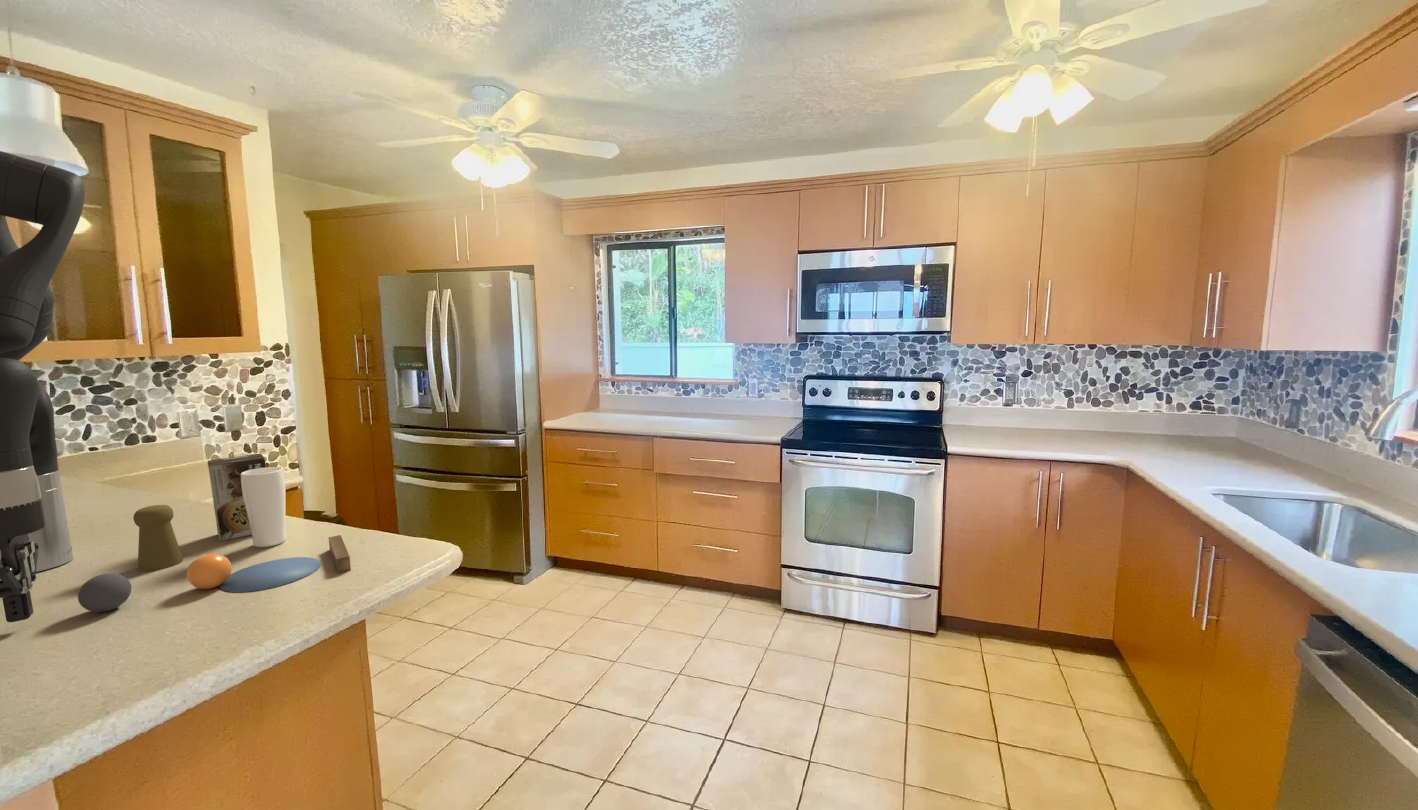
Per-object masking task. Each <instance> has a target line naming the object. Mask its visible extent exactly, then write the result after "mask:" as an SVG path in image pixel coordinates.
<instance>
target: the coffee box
mask: <svg viewBox="0 0 1418 810" xmlns="http://www.w3.org/2000/svg"><path fill="white" fill-rule="evenodd" d="M207 466H208V472H209V480H210V486H211V487H210V488H211V489H210V490H211V493H212V501H213V508H214V509H213V510H214V515H215V522H216V530H217V535H218V539H219V541H220V542H223V541H228V540H232V539H237V538H241V537H246V536H250V535H251V536H252V533H251V528H250V524H249V520H248V516H247V511H246V507H245V503H244V499H243V494H242V487H241V473H242V472H245V471H248V470H253V469H258V468H267V464H266V459H265V457H264V456H263V454H262V453H253V454H247V455H246V454H245V455H239V456H231V457H225V458H218V459H217V458H216V459H210V460H207Z"/></svg>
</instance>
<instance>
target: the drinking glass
mask: <svg viewBox="0 0 1418 810" xmlns="http://www.w3.org/2000/svg"><path fill="white" fill-rule="evenodd" d="M241 487H242V494H243V499H244V503H245V507H246V511H247V516H248V520H249V524H250V528H251V533H252V534H251V537H252V544H253V546H255V547H256V548H269V547H273V546H274V547H275V546H277V545H280V544H282V543H284V542H286V540H287V531H286V530H287V525H286V522H287V521H286V519H287V518H286V515H287V514H286V509H287V507H286V501H287V500H286V497H287V495H286V481H285V474H284V469H283V467H280V466H279V467H278V466H275V467H274V466H269V467H267V466H266V468H258V469H253V470H248V471H245V472H242V473H241Z"/></svg>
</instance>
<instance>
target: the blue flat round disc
mask: <svg viewBox="0 0 1418 810" xmlns="http://www.w3.org/2000/svg"><path fill="white" fill-rule="evenodd" d="M320 567H321V561H320V560H319V559H317V558H314V557H309V556H307V557H305V556H298V557H297V556H296V557H295V556H294V557H286V558H278V559H274V560H269V561H264V562H261V563H257V564H253V565H250V566H247V567H244V568H241V569H238V570H237V571H235V572H234V571H233V573H232V572H231V574H230V576H229V577H228V579H227V580H226V581H225V582H224V583H222V584H221V585H219V589H220V590H222V591H225V592H228V593H229V592H230V593H249V592H258V591H264V590H269V589H273V588H278V587H282V586H285V585H288V584H291V583H294V582H297V581H300V580H302V579H304V578H306V577H309V576H310V575H313V572H314V573H315V572H316V571H318V570H319V568H320ZM317 569H318V570H317Z"/></svg>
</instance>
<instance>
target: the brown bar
mask: <svg viewBox="0 0 1418 810" xmlns="http://www.w3.org/2000/svg"><path fill="white" fill-rule="evenodd" d="M328 545H329V552H330V554H331V557H332V560H333V563H334V567H335V569H337V570H336V571H337V573H338V574H339V573H344V572H347V571H351V570H352V569H351V568H352V567H351V559H350V556H351V555H350V554H349V551H348V549H347V546H346V544H345V542H344V540H343V537H342V535H341V534H339V535H334V536H328Z"/></svg>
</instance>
